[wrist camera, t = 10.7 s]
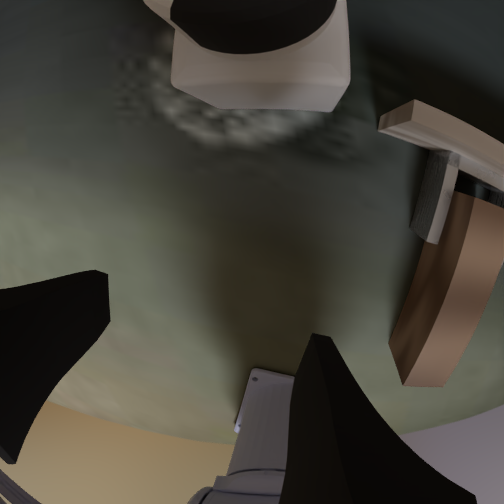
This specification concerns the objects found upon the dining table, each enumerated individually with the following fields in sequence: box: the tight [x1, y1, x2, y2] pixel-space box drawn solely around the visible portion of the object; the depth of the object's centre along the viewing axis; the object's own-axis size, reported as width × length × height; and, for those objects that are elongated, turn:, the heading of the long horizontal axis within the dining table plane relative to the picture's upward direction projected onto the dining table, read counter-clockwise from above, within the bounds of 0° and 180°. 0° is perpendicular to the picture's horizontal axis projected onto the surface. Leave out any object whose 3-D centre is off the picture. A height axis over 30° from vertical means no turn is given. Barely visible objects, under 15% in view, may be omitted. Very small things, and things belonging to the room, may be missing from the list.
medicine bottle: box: [143, 0, 350, 112], centre depth 9 cm, size 7×7×12 cm
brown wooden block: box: [388, 191, 504, 387], centre depth 15 cm, size 12×3×5 cm, turn 173°
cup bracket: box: [410, 150, 504, 267], centre depth 14 cm, size 5×7×3 cm
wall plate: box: [378, 99, 504, 178], centre depth 12 cm, size 1×14×6 cm, turn 78°
